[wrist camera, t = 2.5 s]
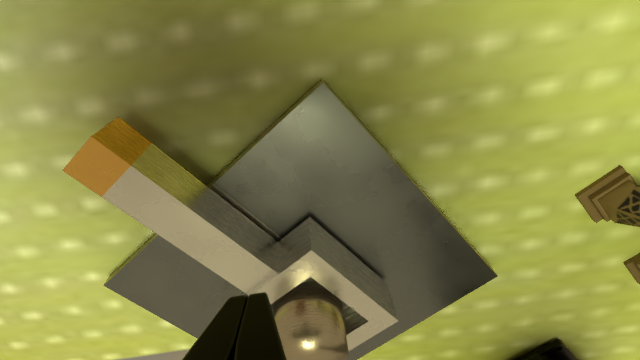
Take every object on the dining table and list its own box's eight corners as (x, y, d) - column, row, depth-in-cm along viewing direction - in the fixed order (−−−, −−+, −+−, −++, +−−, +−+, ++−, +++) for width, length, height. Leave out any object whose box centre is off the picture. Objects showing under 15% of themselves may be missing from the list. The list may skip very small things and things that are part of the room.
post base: (491, 267, 23) (547, 348, 18) (297, 384, 29) (297, 474, 23) (322, 78, 17) (332, 120, 12) (109, 275, 22) (50, 366, 17)
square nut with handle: (387, 283, 22) (398, 320, 20) (304, 337, 24) (305, 377, 22) (151, 79, 15) (123, 97, 13) (64, 178, 17) (26, 210, 15)
